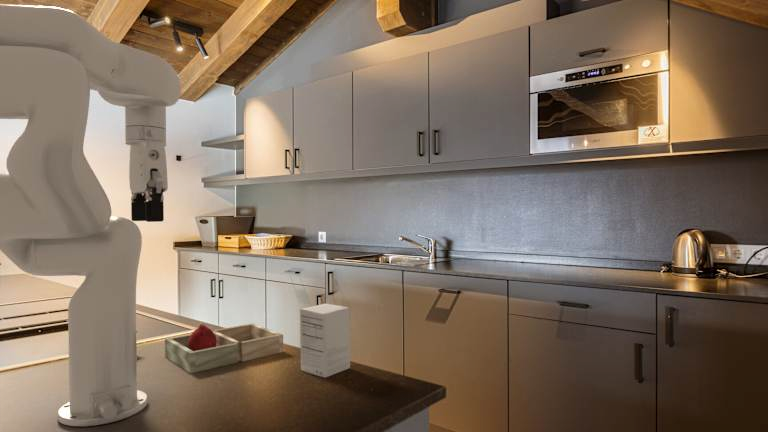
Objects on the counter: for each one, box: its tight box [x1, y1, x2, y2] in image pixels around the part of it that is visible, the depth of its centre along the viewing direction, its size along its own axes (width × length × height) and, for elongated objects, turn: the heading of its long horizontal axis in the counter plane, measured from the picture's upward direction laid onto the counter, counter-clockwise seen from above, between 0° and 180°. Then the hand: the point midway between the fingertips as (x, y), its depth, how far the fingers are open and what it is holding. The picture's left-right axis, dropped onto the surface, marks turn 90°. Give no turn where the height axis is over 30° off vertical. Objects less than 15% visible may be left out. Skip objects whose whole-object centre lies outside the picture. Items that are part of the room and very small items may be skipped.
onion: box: [188, 322, 217, 351], centre depth 105 cm, size 6×6×8 cm
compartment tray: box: [164, 322, 284, 374], centre depth 109 cm, size 15×21×4 cm
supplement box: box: [299, 303, 351, 379], centre depth 98 cm, size 7×7×13 cm
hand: (147, 221), depth 99 cm, fingers open, 9 cm apart
